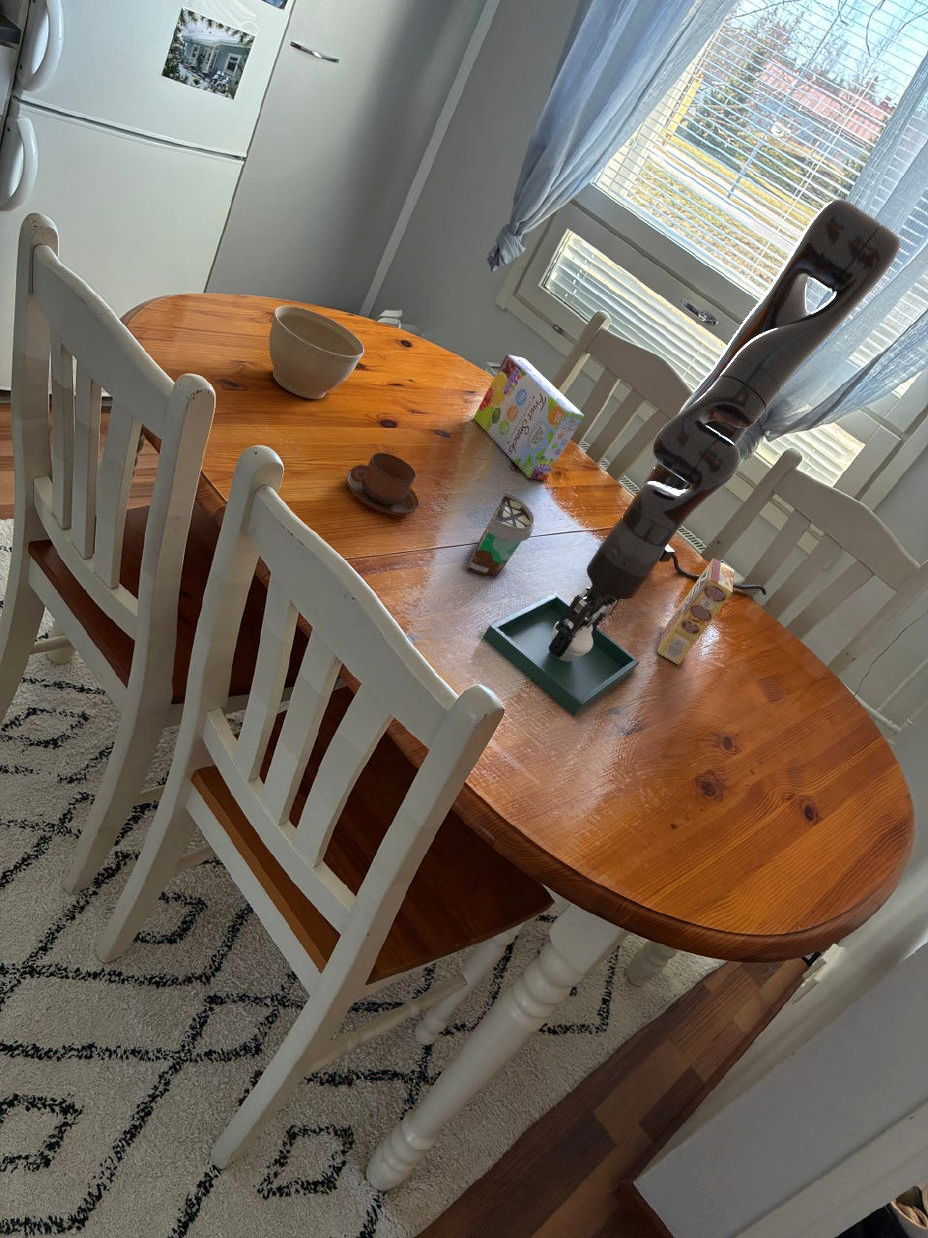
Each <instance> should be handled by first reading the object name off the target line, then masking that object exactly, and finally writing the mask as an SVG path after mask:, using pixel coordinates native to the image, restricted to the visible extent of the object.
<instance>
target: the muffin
mask: <svg viewBox="0 0 928 1238" xmlns="http://www.w3.org/2000/svg"><path fill="white" fill-rule="evenodd" d="M585 620H588V619H587V618H585ZM558 623H559V622H557V623H556V624H555V626H554V629H553V632H552V641H553V639H554V638H555V636H556V635H557V633H558V632H559V631H558V630H556V629H555V627H556V625H557V624H558ZM568 625H569V626H570V627H571V628H572V627H573V626H574V624H573V623H572V622H570V623H569V624H568ZM592 630H593V627H592V624H591V626H590V627H589V628H587V629H586V628H583V629H582V630H581V631H580V633H579V634H578V635H577V637H576V638H574V640H573V641H572V643H571V644H570V646H569V647H568V649H567V650H566V652H565V653H564V655H563V656H561V657H559V658H558V657H557V658H558V659H559V660H561V661H565V662H569V661H572V660H574V659H576V658H578V657H580V656H583V655H584V654H585V653H587V652H589V651H590V650H591V648H592V646H593V638H592V635H591V632H592ZM554 656H555V655H554Z"/></svg>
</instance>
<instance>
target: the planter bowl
mask: <svg viewBox="0 0 928 1238" xmlns="http://www.w3.org/2000/svg"><path fill="white" fill-rule="evenodd" d="M272 316H273V318H272V323H271V327H270V331H269V337H268V338H269V340H268V343H269V344H268V345H269V346H268V347H269V355H270V361H271V364H272V367H273V370H272V377H273V379H274V380H275V382H276V383H277V384H278V385H279V386H281V387H282V388H283V389H285V390H287V391H288V392H289V393H292V394H294V395H296V396H299V397H301V398H305V399H308V400H309V399H311V400H320V399H323V398H324V397H325V395H326V393H327V392H329V391H332V390H334V389H335V388H337V387H339V386H340V385H341V384H342V383H343V382H344V381H346V380H347V379H348V378H349V377H350V376H351V374H352V373H353V371H354V370H355V368H356V367H357V365H358V364H359V363H358V362H359V360H361V358H362V357H363V356H364V353H365V347H364V344H363V343H362V341H361V340H360V339H359V338H358V336H356V334H354V333H353V332H352V331H350V330H349V328H347V327H345V326H344V325H343V324H341V323H340V322H337V321H335V320H334V319H332V318H330V317H328V316H326V315H323V314H321V313H319V312H316V311H313V310H311V309H308V308H305V307H301V306H295V305H280V306H278V307H276V309H275V310H274V312H273V315H272Z"/></svg>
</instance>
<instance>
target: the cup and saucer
mask: <svg viewBox="0 0 928 1238" xmlns="http://www.w3.org/2000/svg"><path fill="white" fill-rule="evenodd" d="M416 477H417V473H416V471H415V470H414V468H413V467H412V466H411V465H410V464H409V463H408V462H406V461H405V460H404V459H402V458H400V457H398V456H396V455H393V454H391V453H387V452H375V453H374V454H372V456H371V458H370V460H369V461H368V464H364V463H362V464H361V463H359V464H356V465H355V466H354V467H352V468H350V469H349V470H348V471H347V473H346V485H347V486H348V488H349V490H350V492H351V493H352V494H353V496H355V498H357V499H358V500H359V501H360V502H361V503H363V504H364V505H366V506H367V507H369V508H371V509H373V510H375V511H377V512H379V513H382V514H385V515H390V516H397V517H398V516H401V517H402V516H407V515H410V514H413V513H415V512H416V511H417V509H418V508H419V504H420V502H419V497H418V496H417V494H416V493H415V491H414V490H413V489H412V485H413V483H414V481H415V479H416Z"/></svg>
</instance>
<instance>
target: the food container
mask: <svg viewBox="0 0 928 1238" xmlns="http://www.w3.org/2000/svg"><path fill="white" fill-rule="evenodd" d="M534 525H535V517H534V514H533V512H532V511H531V509H530V508H529V507H528V505H526V504H525V502H523V501H522V499H520V498H518V497H517V496H516V495H514V494H513V493H511V492H510V491H507V490H506V491H505V493H504V494H503V497H502V498H501V500H500V502H499V504H498V506H497V508H496V509H495V511H494V513H493V515H492V516H491V519H490V520H489V522H488V524H487V526H486V527H485V530H484V531H483V533H482V534H481V537H480V539H479V540H478V542H477V544H476V546H475V548H474V551H473V554H472V556H471V558H470V561H469V563H468V566H467V568H466V571H468V572H470V573H472V574H475V575H478V576H481V577H488V578H492V577H497V576H498V575H499V574H500V573H501V572H502V571H503V569H504V568H505V567H506V565H507V563H508V562H509V560H510V559H511V557H512V556H513V555H514V553H515V552H516V551H517V549H518V547H519V546H520V545H521V543H522V542H524V541H527V540H529V539H530V537H531V536H532V532H533V529H534Z"/></svg>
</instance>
